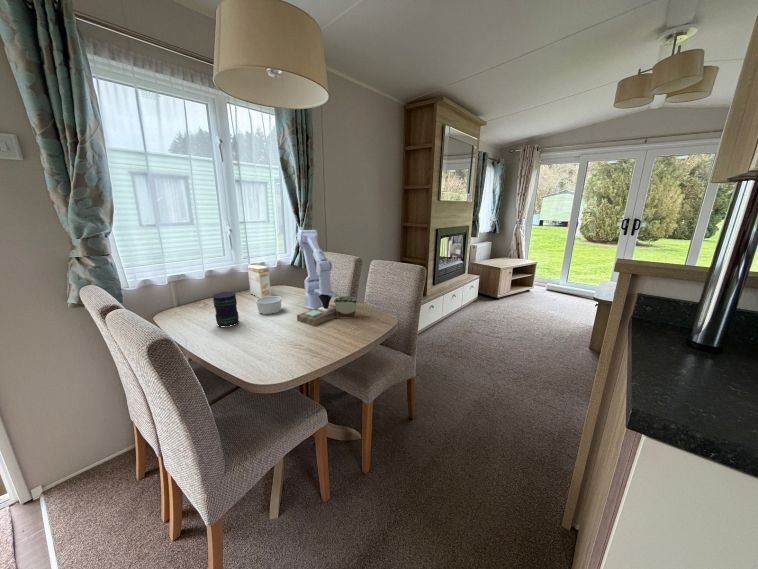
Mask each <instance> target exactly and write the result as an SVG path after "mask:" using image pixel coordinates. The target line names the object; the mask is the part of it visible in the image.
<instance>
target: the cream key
mask: <svg viewBox="0 0 758 569" xmlns="http://www.w3.org/2000/svg"><path fill="white" fill-rule="evenodd" d="M330 306H331V305H329V306H328V308H327V309H324V307H321V308H318V310H319V311H322V312H329V311H331V310H334V307H335V306H332V307H330Z"/></svg>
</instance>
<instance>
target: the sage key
mask: <svg viewBox="0 0 758 569" xmlns="http://www.w3.org/2000/svg"><path fill="white" fill-rule="evenodd" d="M311 310H312V311H310V310H309V311H310V312H307V311H306V312H307V313H305V315H306V316H309V317H312V318H314V317H316V316H319V315H321V314H322V312H319V311H315V310H313V309H311Z"/></svg>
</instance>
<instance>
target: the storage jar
mask: <svg viewBox="0 0 758 569" xmlns="http://www.w3.org/2000/svg"><path fill="white" fill-rule="evenodd" d="M236 297H237V296H236V293H235V292H234V291H225V292H218V293H214V294H213V295H212V298H213V307H214V308H215V309H214V310H215V321H216V323H217V324H218V325H219V326H230V325H234V324H236V323H238V322H239V323H240V320H239V312H238V308H237V304H238V302H237V298H236ZM239 323H238V324H239ZM217 324H216V325H217ZM234 326H235V325H234Z"/></svg>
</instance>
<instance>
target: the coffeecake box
mask: <svg viewBox="0 0 758 569" xmlns="http://www.w3.org/2000/svg"><path fill="white" fill-rule="evenodd" d="M247 272H248V282H249V283H248V284H249V291H250V295H251V294H253V295H255V296H254V297H256V296H257V297H256V298H258V297H259V298H261V297H266V296H272V293H271V292H272V291H271V281H270V280H271V279H270V270H269V266H265V265H260V264H250V265H247ZM253 295H252V296H253ZM259 298H258V299H259Z"/></svg>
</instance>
